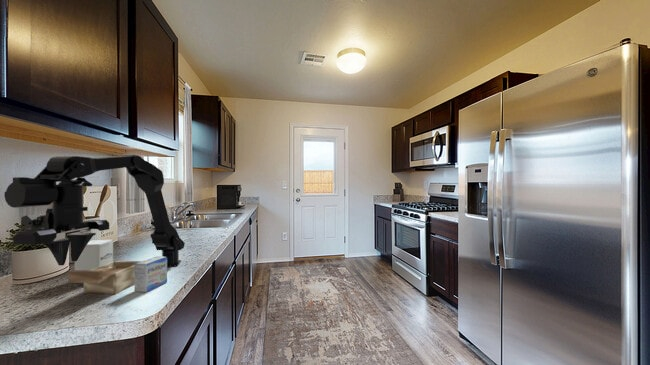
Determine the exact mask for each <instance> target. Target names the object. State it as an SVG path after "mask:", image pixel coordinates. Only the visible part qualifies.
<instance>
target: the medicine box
mask: <svg viewBox="0 0 650 365" xmlns="http://www.w3.org/2000/svg"><path fill="white" fill-rule="evenodd" d="M141 261H142V262H139V263H136V264H134V274H135V284H134V292H139V293H141V292H142V293H148V292H150V291H152V290H154V289H156V288H158V287H160V286H162V285H164V284H167V283H168V267H167V257H163V256H162V255H160V256H153V257H151V258H148V259H145V260H141Z"/></svg>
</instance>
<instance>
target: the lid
mask: <svg viewBox="0 0 650 365" xmlns="http://www.w3.org/2000/svg"><path fill="white" fill-rule="evenodd" d="M123 269H124V268H100V269H97V270H75V269H74V270H69V271H68V272H67V275H68V278H67V280H68V282H67V283H68V284H84V283H100V282H102V281H105V280H107V279H109V278H112V277H114V276H115V273H116V272H119V271H121V270H123Z"/></svg>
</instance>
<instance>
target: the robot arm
mask: <svg viewBox="0 0 650 365" xmlns="http://www.w3.org/2000/svg"><path fill="white" fill-rule="evenodd" d="M124 168H125V169H126V170H127V171H126V172H127V174H129V175H130V176H131V177H132V178H134V180H135V182H136V184H137V187H138V188H139V189H140V190H141V191H142V192H143V193H144V194H145V197H146V200H147V204H148V206H149V211H150V214H151V218H152V221H153V224H154V227H155V228H154V230H153V233H151V234H150V238H151V243H152V244H154V246H155V250H156V251H161V256H163V257H167V268H169V267H177V266H179V265H180V264H181V262H182V260H181V259H179V257H180V254H179V253H180V252H179V251H182V250H183V249H184V248H185V245H186V244H185V241H184V240H182V239H181V237H180V235H179V233H178V230H177V229H176V228H175V227H174V226H173V225H172V224H171V222H170V219H169V215H168V211H167V207H166V203H165V200H164V196H163V195H164V194H163V192H162V189H163V187H164V185H165V181H164V180H165V178H164V172H163V171H162V169H160V168H158V167H157V166H156V165H155V164H153V163H151V162H148V160H145V159H143V158H142V156H140V155H138V154H125V155H115V156H105V157H104V156H103V157H89V156H78V155H70V156H69V155H66V156H65V155H64V156H59V155H57V156H53V157H50V158H49V159H48V161H47V163H46V166H45V167H44V168H43V169H42V170H41V171H39V173H38V174H36V176H34V178H33V177H26V176H25V177H23V176H22V177H19V176H18V177H12V183H10V184H9V185H8V186H7V188H6V191H4V199H5V200H4V201H5V202H6V204H7V205H8V206H9V207H10V208H14V209H15V208H28V207H31V208H32V207H42V206H43V207H44V206H49V205H51V208H46V210H45V214H44V215H42V216H40V215H39V216H37V215H36V214H28V215H24V216H21V218H20V226H21V228H22V229H23V230H19V231H17V232H16V233H15V234H14V235H13V239H12V240H13V241H12V242H13V243H12V245H39V244H42V245H44V246H46V247H47V248H48V249H49V251H50V252H51V255H53V257H54V259H55V261H56V263H57V264H58V266H60V267H61V266H64V265H66V264H65V263H66V261H67V258H68V252H69V248H70V261H71V262H74V263H75V261H77V260H78V258H79V257H80V255H81V253H82V252H83V250H84V248H85V247H86V245H87V244H88V242H89V241H92V238H93V237H94V236H96V235H97V233H96V232H92V230H98V231H101V232H102V231H106V230H110V222H109V221H108V220H107V219H90V220H84V212H87V211H89V208H88V206H84V187H92V186H93V183H91V182H90V181H89V180H87V179H86V177H87V176H91V175H93V174H95V173H97V172H100V171H107V170H114V169H124ZM57 182H59V183H58V184H57Z"/></svg>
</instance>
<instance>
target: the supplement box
mask: <svg viewBox="0 0 650 365" xmlns="http://www.w3.org/2000/svg"><path fill="white" fill-rule="evenodd" d="M112 262H114V239H95V240H90V241H89V242H88V244H87V245H86V247H85V248H84V250H83V252H82V253H81V255H80V257H79V258H78V260H77V261H75V262H74V270H93V269H95V268H98V267H101V266H104V265H106V264H109V263H112Z"/></svg>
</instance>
